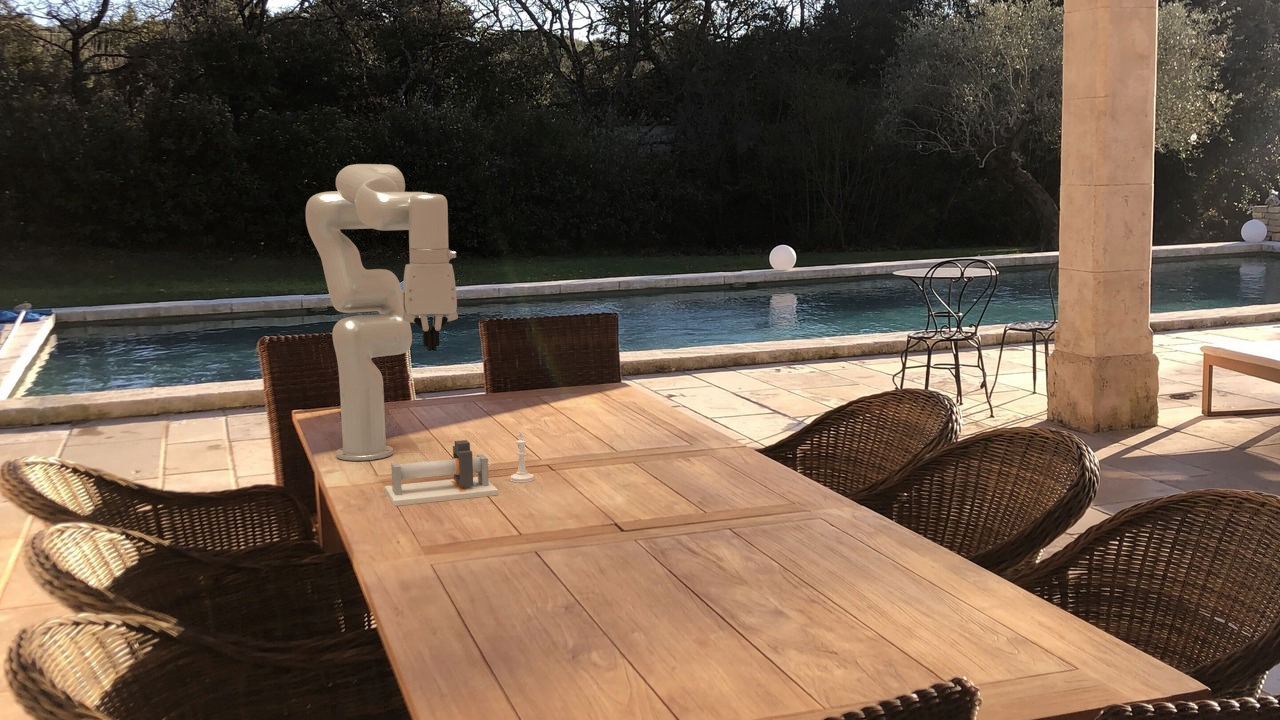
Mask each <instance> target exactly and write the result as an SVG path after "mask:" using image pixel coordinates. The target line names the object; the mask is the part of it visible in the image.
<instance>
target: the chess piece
mask: <svg viewBox="0 0 1280 720" xmlns="http://www.w3.org/2000/svg"><path fill="white" fill-rule="evenodd" d="M516 437H517V438H519V439H518V440H516V446H517V448H518V451H516V453H515V454H516V455H518V465H517V466H518V467H517V471H516V473H513V474H511V475H510V477H509V478H510V479H509V480H510V481H511V482H513V483H520V484H521V483H530V482H532V481H534V480H535V475H534V474H532V473H529V471H528V470H527V467H526V462H525V455H527V451H526V450H525V447H526V443H527V441H526V440H525V439H523V438H526V434H523V431H519V434H516Z"/></svg>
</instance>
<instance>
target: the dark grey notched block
mask: <svg viewBox="0 0 1280 720" xmlns="http://www.w3.org/2000/svg"><path fill="white" fill-rule="evenodd" d="M452 456H453V457H452V459H454V458H459V470H460V475H455V474H454V475H453V479H454V480H455V481H456V482H457V483H458V484H459V485H460V487H469V486H473V477H474V473H473V462H472V457H473V451H472V450H471V442H469V441H468V440H467V439H463V440H454V445H453V446H452Z"/></svg>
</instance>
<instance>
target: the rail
mask: <svg viewBox="0 0 1280 720" xmlns="http://www.w3.org/2000/svg"><path fill="white" fill-rule="evenodd" d="M472 462H473V474H474V473H477V476H473V486H469V487H460V485H459V484H458V483H457V482H456V481H455V480H454V478H451V479H442V480H434V481H433V480H431V481H423V482H413V483H411V482H410V483H403V484H402V480H410V479H411V480H413V479H423V478H432V477H441V476H443V477H444V476H452V475H453V476H454V474H455V475H460V470H459V458H454V459H453V458H450V459H442V460H430V461H419V462H409V463H408V462H407V463H398V461H395V462H391V463H390V467H391V469H390V470H391V485H384V492H385V494H386V495H387V497H388V499H389V500H390V502H391V503H392V505H393V506H394V507H399V506H406V505H417V504H426V503H434V502H435V503H436V502H445V501H453V500H464V499H472V498H473V499H474V498H481V497H483V498H484V497H492V496H498V495H499V490H498V488H496V486H494V484H492V482H491V481H489V458H488V457H487V456H486V455H485V454H477V455H476V456H474V457H473V456H472Z"/></svg>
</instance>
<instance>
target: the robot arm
mask: <svg viewBox="0 0 1280 720" xmlns="http://www.w3.org/2000/svg"><path fill="white" fill-rule="evenodd" d="M335 188H336V190H337V191H336V190H335V191H334V190H333V191H324V192H319V193H316V194H314V195H312V196H311V197H310V198H309V199H308V200H307V202H306V206H305V223H306V227H307V231H308V234H309V237H310V238H311V241H312V242H313V244H314V246H315V249H316V250H317V252H318V255H319V258H320V259H321V265H322V267H323V274H324V277H325V282H326V286H327V289H328V295H329V298H330V301H331V304H332V306H333V308H334V309H335V310H336V311H338V312H339V313H345V314H346V313H347V314H348V313H350V314H352V313H367V312H369V313H370V312H378V313H379V314H364V315H354V316H347V317H345V318H344V317H343V318H342V319H340V320H338V321H337V322H336V323H335V325H333V328H332V342H333V348H334V352H335V355H336V356H335V357H336V360H337V369H338V378H339V379H338V382H339V383H338V384H339V397H340V398H339V399H340V414H341V415H340V416H341V417H340V419H341V436H342V437H341V439H342V447H340V448H339V449H337V450H336V451H335V457H336V458H337V459H339V460H343V461H351V462H352V461H353V462H354V461H355V462H359V461H360V462H361V461H371V460H372V461H373V460H379V459H384V458H387V457H390V456H392V455H393V453H394V448H393V447H392V446H390V445H387V441H386V440H387V437H386V419H385V418H386V416H385V415H386V414H385V394H384V378H383V374H382V373H381V370H380V369H379V367H377V366H376V364H375V363H374V362H373V361H372V359H373V358H379V357H388V356H389V357H390V356H396V355H397V356H398V355H402V354H404V353H407V352H408V351H409V350H410V348H411V346H412V342H413V334H412V327H411V323H413V324H416V325H417V326H418V327H419V328H420V329H421V330H422V345H423V348H424V347H425V349H426V350H427V352H432V351H434V352H436V351H437V347H439V346H440V330H441V329H442V328H443V327H444V326H445V325H446V323H447V322H452V321H455V320H458V318H459V315H458V311H457V307H458V302H457V301H458V297H457V287H456V280H455V271H454V268H453V264H452V263H450V260H452V259H455V258H457V252H456V251H454V250H453V251H452V250H451V249H450V248H449V222H448V221H449V219H448V218H449V217H448V216H449V215H448V214H449V213H448V212H449V211H448V210H449V209H448V200H447V198H446V196H444V195H443V194H441V193H440V194H438V193H430V192H429V193H428V192H425V191H424V192H423V191H405V190H406V183H405V178H404V175H403V173H402V171H400V169H399V168H398V167H396V166H394V165H393V164H387V163H386V164H382V163H379V164H377V163H373V164H372V163H356V164H350V165H347V166H344V168H342V169H340V170H339V172H338V174H336V177H335ZM359 229H361V230H363V229H366V230H367V229H368V230H369V229H373V230H377V231H383V232H384V231H408V244H409V248H408V249H409V252H408V253H409V263H408V264H405V267H404V271H403V272H404V273H403V282H402V283H403V284H402V285H403V288H402V285H401V283H400V281H399V279H398V277H397V275H396V274H395V273H393V271H391V270H388V269H384V268H383V269H382V268H375V269H366V268H365V267H364V266H363V263H362V259H361V255H360V251H359V249H358V247H357V246H356V245H355V243H354V242H352V240H351V239H350V238H349V237H348V236H346V235H345V234H344V233H343V232H342V231H341V230H359ZM428 316H433V319H432V326H431V327H430V326H429V321H428Z"/></svg>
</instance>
